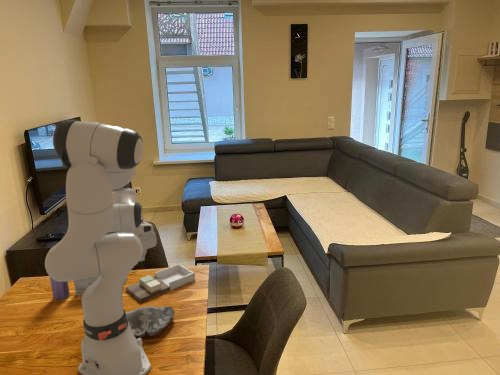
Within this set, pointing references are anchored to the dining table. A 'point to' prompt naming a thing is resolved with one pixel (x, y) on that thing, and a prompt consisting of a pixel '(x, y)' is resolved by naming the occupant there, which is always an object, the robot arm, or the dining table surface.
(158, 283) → the cream tile
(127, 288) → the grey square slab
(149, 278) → the sage tile
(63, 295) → the beverage can
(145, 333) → the brain slice
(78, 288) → the supplement box
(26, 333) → the dining table surface
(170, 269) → the grey tray
